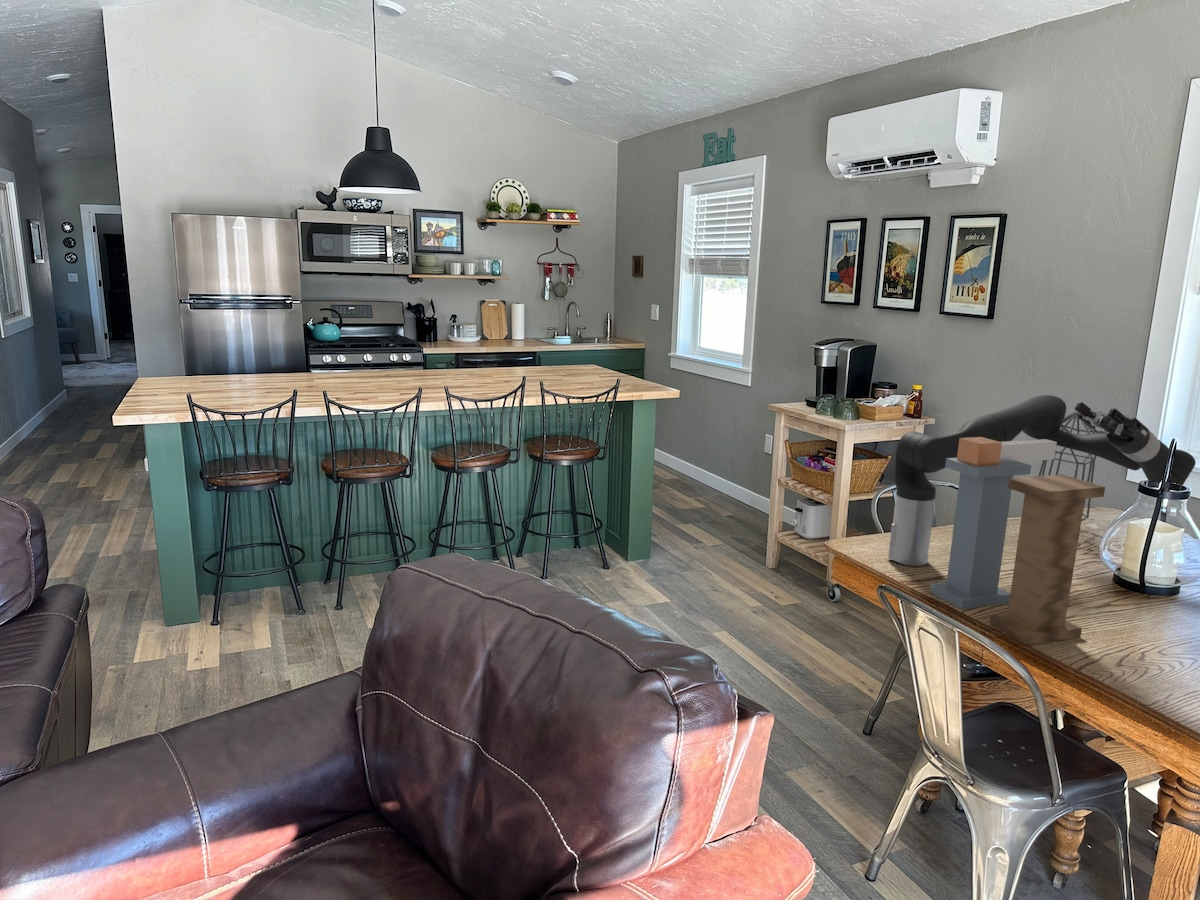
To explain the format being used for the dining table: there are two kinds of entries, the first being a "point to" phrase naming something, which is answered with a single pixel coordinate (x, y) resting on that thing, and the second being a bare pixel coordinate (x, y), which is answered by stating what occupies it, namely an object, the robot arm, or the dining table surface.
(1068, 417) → the geometric lantern
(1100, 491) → the walnut post
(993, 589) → the post
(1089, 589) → the dining table surface
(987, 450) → the bar
